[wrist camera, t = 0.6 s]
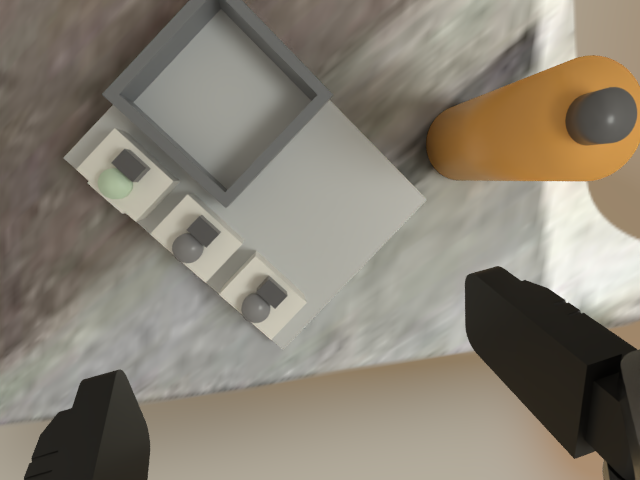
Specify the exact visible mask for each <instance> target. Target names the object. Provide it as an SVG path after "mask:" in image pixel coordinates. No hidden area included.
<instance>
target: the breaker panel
mask: <svg viewBox="0 0 640 480" xmlns="http://www.w3.org/2000/svg"><path fill="white" fill-rule="evenodd" d="M102 95H103V96H104V97H105V98H106V99H107V100H109V101H110V102H111V103H112V104H113V105H112V106H111V107H110V109H109V110H108V111H107V112H106V113H105V114H104V115H103V116H102V117H101V118H100V119H99V120H98V121H97V122H96V124H95V125H94V126H93V127H92V128H91V129H90V130H89V131H88V132H87V133H86V134H85V135H84V136H83V137H82V138H81V140H80V141H79V142H78V143H77V144H76V145H75V146H74V147H73V148H72V149H71V150H70V151H69V152H68V153H67V155H66V156H65V157H64V159H65V160H66V161H67V162H68V163H70V164H71V165H72V166H73V167H74V168H75V169H76V170H77V171H78V172H79V173H80V174H82V175H83V176H84V177H85V178H86V179H87V180H88V182H87V183H88V184H89V185H90V186H91V187H92V188H93V189H95V190H96V191H97V192H98V193H99V194H100V195H101V196H103V197H104V198H105V199H106V200H107V201H108V202H109V203H111V204H112V205H113V206H114V207H115V208H116V209H118V210H119V211H120V212H121V213H122V214H124V213H126V214H127V215H129V216H130V217H131V218H132V219H133V220H134V221H135V222H137V223H138V224H139V225H141V226H142V227H143V228H144V229H145V230H146V231H147V232H149V233H150V235H151V236H153V237H154V238H155V239H156V240H157V241H158V242H159V243H161V244H162V245H163V246H164V247H165V248H166V249H167V250H169V251H170V252H171V253H172V254H173V255H174V256H175V258H176V259H177V260H179V261H180V262H182V263H183V264H185V265H186V266H187V267H188V268H189V269H190V270H191V271H193V272H194V273H195V274H196V275H197V276H198V277H199V278H201V279H202V280H203V281H204V282H205V283H207V284H208V285H209V286H210V287H211V288H213V289H214V290H215V291H216V292H217V293H218V294H219V295H220V296H221V297H222V298H224V299H225V300H226V301H227V302H228V303H229V304H230V305H232V306H233V307H234V308H235V309H236V310H237V311H238V312H240V313H241V314H242V315H243V316H244V318H245V319H246V320H247V321H249V322H251V323H252V324H253V325H254V326H256V327H257V328H258V329H259V330H260V331H261V332H262V333H264V334H265V335H266V336H267V337H268V338H269V339H270V340H272V341H273V342H274V343H276V344H277V345H278V346H279V347H280V348H281V349H282V350H283V349H284V348H285V347H286V346H287V345H288V344H289V343H290V342H291V341H292V340H293V339H294V338H295V337H296V336H297V335H298V334H299V333H300V332H301V331H302V330H303V329H304V328H305V327H306V325H307V324H308V323H309V322H310V321H311V320H312V319H313V318H314V317H315V316H316V315H317V314H318V313H319V312H320V311H321V310H322V309H323V308H324V307H325V306H326V305H327V304H328V303H329V301H330V300H331V299H332V298H333V297H334V296H335V295H336V294H337V293H338V292H339V291H340V290H341V289H342V288H343V287H344V286H345V285H346V284H347V283H348V282H349V281H350V280H351V279H352V277H353V276H354V275H355V274H356V273H357V272H358V271H359V270H360V269H361V268H362V267H363V266H364V265H365V264H366V263H367V262H368V261H369V260H370V259H371V258H372V257H373V256H374V255H375V253H376V252H377V251H378V250H379V249H380V248H381V247H382V246H383V245H384V244H385V243H386V242H387V241H388V240H389V239H390V238H391V237H392V236H393V235H394V234H395V233H396V232H397V231H398V229H399V228H400V227H401V226H402V225H403V224H404V223H405V222H406V221H407V220H408V219H409V218H410V217H411V216H412V215H413V214H414V213H415V212H416V211H417V210H418V209H419V208H420V207H421V205H422V204H423V203H424V202H425V201H426V200H427V199H426V198H425V197H424V196H423V195H422V194H421V193H420V192H419V191H418V190H417V189H416V188H415V187H414V186H413V185H412V184H411V183H410V182H409V181H408V180H407V179H406V178H405V177H404V176H403V175H402V174H401V173H400V172H399V171H398V169H397V168H396V167H395V166H394V165H393V164H392V163H391V162H390V161H389V160H388V159H387V158H386V157H385V156H384V155H383V154H382V153H381V152H380V151H379V150H378V149H377V148H376V147H375V146H374V145H373V144H372V143H371V142H370V141H369V140H368V139H367V138H366V137H365V136H364V135H363V134H362V133H361V132H360V130H359V129H358V128H357V127H356V126H355V125H354V124H353V123H352V122H351V121H350V120H349V119H348V118H347V117H346V116H345V115H344V114H343V113H342V112H341V111H340V110H339V109H338V108H337V107H336V106H335V105H334V104H333V103H332V102H331V101H330V98H331V97H332V96H333V94H332V93H331V92H330V91H329V90H328V89H327V88H326V87H325V86H324V85H323V84H322V83H321V82H320V81H319V80H318V78H317V77H316V76H315V75H314V74H313V73H312V72H311V71H310V70H309V69H308V68H307V67H306V66H305V65H304V64H303V63H302V62H301V61H300V60H299V59H298V58H297V57H296V56H295V55H294V54H293V53H292V52H291V51H290V50H289V49H288V48H287V47H286V45H285V44H284V43H283V42H282V41H281V40H280V39H279V38H278V37H277V36H276V35H275V34H274V33H273V32H272V31H271V30H270V29H269V28H268V27H267V26H266V25H265V24H264V23H263V22H262V21H261V20H260V19H259V18H258V17H257V16H256V15H255V14H254V12H253V11H252V10H251V9H250V8H249V7H248V6H247V5H246V4H245V3H244V2H243V1H242V0H189V1H188V2H187V3H186V5H185V6H184V7H183V8H182V9H181V10H180V11H179V12H178V13H177V14H176V15H175V16H174V17H173V18H172V20H171V21H170V22H169V23H168V24H167V25H166V26H165V27H164V28H163V29H162V30H161V31H160V32H159V33H158V35H157V36H156V37H155V38H154V39H153V40H152V41H151V42H150V43H149V44H148V45H147V46H146V47H145V48H144V50H143V51H142V52H141V53H140V54H139V55H138V56H137V57H136V58H135V59H134V60H133V61H132V62H131V63H130V65H129V66H128V67H127V68H126V69H125V70H124V71H123V72H122V73H121V74H120V75H119V76H118V77H117V78H116V80H115V81H114V82H113V83H112V84H111V85H110V86H109V87H108V88H107V89H106V90H105V91H104V92H103V93H102Z"/></svg>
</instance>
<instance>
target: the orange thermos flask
mask: <svg viewBox="0 0 640 480" xmlns="http://www.w3.org/2000/svg"><path fill="white" fill-rule="evenodd" d="M639 143H640V86H639V84H638V82H637V81H636V79H635V78H634V76H633V75H632V74H631V73H630V72H629V70H628V69H626V68H625V67H624V66H623V65H622V64H619V63H618V62H616V61H614V60H612V59H609V58H606V57H602V56H594V55H593V56H583V57H578V58H575V59H573V60H570V61H567V62H565V63H562V64H560V65H557V66H555V67H552V68H550V69H547V70H544V71H542V72H539V73H537V74H534V75H532V76H529V77H527V78H524V79H522V80H519V81H517V82H514V83H512V84H509V85H506V86H504V87H501V88H499V89H496V90H494V91H491V92H489V93H486V94H484V95H481V96H479V97H476V98H474V99H471V100H468V101H466V102H463V103H461V104H458V105H456V106H453V107H451V108H448V109H446V110H445V111H443V112H442V113H440V114H439V115H438V116H437V117H436V119H435V120H434V121H433V123H432V124H431V126H430V128H429V131H428V134H427V139H426V149H427V154H428V157H429V160H430V162H431V164H432V165H433V167H434V168H435V169H436V170H437V171H438V172H439V173H440V174H442V175H443V176H445V177H447V178H449V179H453V180H470V181H593V180H597V179H601V178H604V177H607V176H609V175H611V174H612V173H614V172H616V171H617V170H618V169H620V168H621V167H622V166H623V165H624V164H625V163H626V162H627V161H628V160H629V159H630V158H631V157H632V155H633V154H634V152H635V151H636V149H637V147H638V145H639Z"/></svg>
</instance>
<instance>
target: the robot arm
mask: <svg viewBox="0 0 640 480" xmlns="http://www.w3.org/2000/svg"><path fill="white" fill-rule="evenodd" d="M465 326H466V333H467V337H468V339H469V342H470V344H471V346H472V348H473V349H474V351H475V352H476V353H477V354H478V355H479V356H480V357H481V358H482V360H483V361H484V362H485V363H486V364H487V365H488V366H489V367H490V368H491V369H492V370H493V371H494V372H495V374H496V375H497V376H498V377H499V378H500V379H501V380H502V381H503V382H504V383H505V384H506V385H507V386H508V388H509V389H510V390H511V391H512V392H513V393H514V394H515V395H516V396H517V397H518V398H519V400H521V402H522V403H523V404H524V405H525V406H526V407H527V408H528V409H529V410H530V411H531V412H532V414H533V415H534V416H535V417H536V418H537V419H538V420H539V421H540V422H541V423H542V424H543V425H544V427H545V428H546V429H547V430H548V431H549V432H550V433H551V434H552V435H553V436H554V437H555V438H556V440H557V441H558V442H559V443H560V444H561V445H562V446H563V447H564V448H565V449H566V450H567V451H568V452H569V454H570V455H571V456H572V457H573V458H574V459H575V458H578V457H581V456H584V455H586V454H589V453H592V452H594V451H596V452H597V453H598V454H599V455H600V456H601V457H602V458H603V459H604V462H603V478H604V480H640V350H637V349H636V348H634V347H633V346H631V345H630V344H628V343H627V342H625V341H624V340H622V339H621V338H620V337H618V336H617V335H615V334H614V333H612V332H611V331H609V330H608V329H607V328H605V327H604V326H602V325H601V324H599V323H598V322H596V321H595V320H593V319H592V318H590V317H589V316H588V315H586V314H585V313H582V314H581V312H580V310H579V309H577V308H576V307H574V306H573V305H571V304H570V303H566V302H565V300H564V299H563V298H561V297H560V296H558V295H557V294H555V293H554V292H552V291H551V290H550V289H548V288H546V287H543V286H540V285H537V284H534V283H532V282H529V281H526V280H524V281H520V280H519V279H518V278H516V277H515V276H513V275H512V274H511V273H509V272H508V271H506V270H505V269H504V268H502V267H499V266H497V267H493V268H489V269H486V270H482V271H478V272H475V273H471V274H469V275H467V277H466V280H465ZM149 456H150V440H149V433H148V428H147V424H146V421H145V419H144V417H143V414H142V412H141V410H140V407H139V405H138V402H137V400H136V398H135V395H134V393H133V391H132V388H131V386H130V384H129V381H128V379H127V377H126V375H125V373H124V372H123V371H122V370H116V371H113V372H109V373H105V374H102V375H98V376H95V377H91V378H87V379H84V380H82V381H81V383H80V385H79V388H78V391H77V395H76V398H75V401H74V404H73V407H72V408H71V409H68V410H64V411H61V412H59V413H58V414H57V415H56V416H55V417H54V419H53V420H52V421H51V423H50V424H49V425H48V426H47V427H46V429H45V430H44V431H43V432H42V434H41V435H40V437H39V440H38V443H37V445H36V448H35V450H34V453H33V456H32V463H30V464H29V466H28V469H27V471H26V474H25V476H24V480H147V478H148V467H149Z"/></svg>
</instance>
